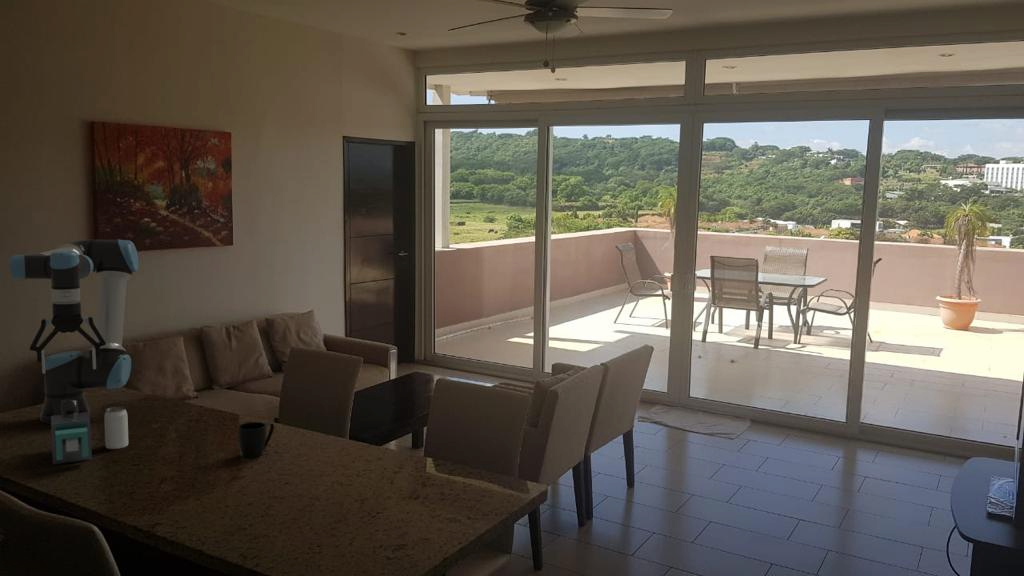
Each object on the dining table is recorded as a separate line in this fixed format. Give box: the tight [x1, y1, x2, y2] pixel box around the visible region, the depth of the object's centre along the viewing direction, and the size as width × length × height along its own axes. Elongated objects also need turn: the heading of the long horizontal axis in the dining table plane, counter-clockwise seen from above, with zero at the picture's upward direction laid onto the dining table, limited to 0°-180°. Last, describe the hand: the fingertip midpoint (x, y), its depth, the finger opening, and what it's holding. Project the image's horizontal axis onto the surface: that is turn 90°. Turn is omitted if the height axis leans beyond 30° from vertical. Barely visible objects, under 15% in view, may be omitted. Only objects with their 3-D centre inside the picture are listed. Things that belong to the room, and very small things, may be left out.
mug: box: [237, 421, 275, 460], centre depth 242 cm, size 8×12×10 cm
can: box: [104, 406, 129, 450], centre depth 246 cm, size 6×6×12 cm
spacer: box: [55, 427, 88, 460], centre depth 227 cm, size 4×8×8 cm, turn 120°
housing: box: [50, 412, 93, 465], centre depth 235 cm, size 10×10×12 cm
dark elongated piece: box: [61, 399, 78, 452], centre depth 234 cm, size 26×4×9 cm, turn 30°
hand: (69, 370), depth 242 cm, fingers open, 13 cm apart
